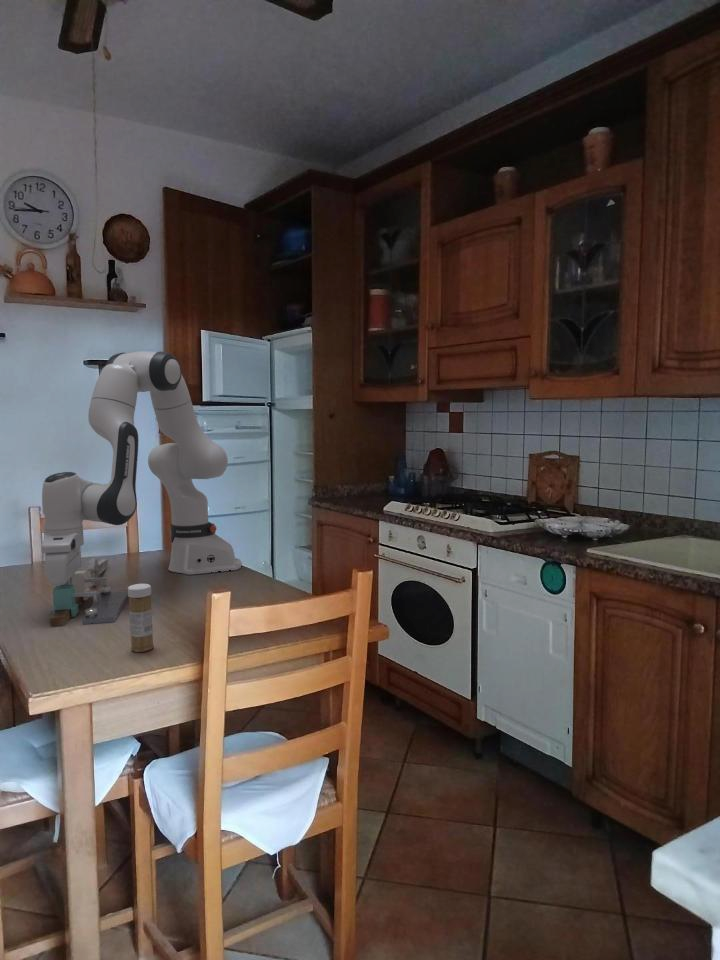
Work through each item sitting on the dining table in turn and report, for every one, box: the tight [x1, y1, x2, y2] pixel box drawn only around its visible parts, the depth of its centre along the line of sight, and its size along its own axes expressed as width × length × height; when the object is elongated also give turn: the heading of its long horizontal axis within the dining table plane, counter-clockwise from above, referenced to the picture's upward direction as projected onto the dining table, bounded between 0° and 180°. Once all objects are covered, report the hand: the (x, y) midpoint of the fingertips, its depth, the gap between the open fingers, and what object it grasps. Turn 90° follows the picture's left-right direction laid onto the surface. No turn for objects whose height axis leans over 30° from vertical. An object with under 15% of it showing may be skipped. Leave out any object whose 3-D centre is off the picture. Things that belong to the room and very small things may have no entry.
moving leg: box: [50, 585, 98, 618], centre depth 165 cm, size 10×4×7 cm, turn 101°
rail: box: [49, 597, 84, 627], centre depth 168 cm, size 3×24×2 cm, turn 11°
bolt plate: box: [82, 586, 129, 625], centre depth 170 cm, size 7×24×3 cm, turn 11°
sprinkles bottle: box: [127, 583, 154, 653], centre depth 140 cm, size 5×5×13 cm
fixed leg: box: [72, 570, 108, 601], centre depth 179 cm, size 10×4×7 cm, turn 101°
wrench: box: [87, 558, 109, 587], centre depth 202 cm, size 8×2×30 cm
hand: (67, 594), depth 168 cm, fingers closed
